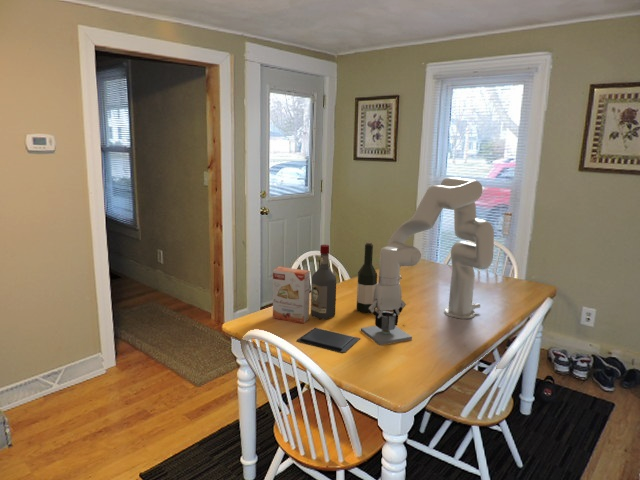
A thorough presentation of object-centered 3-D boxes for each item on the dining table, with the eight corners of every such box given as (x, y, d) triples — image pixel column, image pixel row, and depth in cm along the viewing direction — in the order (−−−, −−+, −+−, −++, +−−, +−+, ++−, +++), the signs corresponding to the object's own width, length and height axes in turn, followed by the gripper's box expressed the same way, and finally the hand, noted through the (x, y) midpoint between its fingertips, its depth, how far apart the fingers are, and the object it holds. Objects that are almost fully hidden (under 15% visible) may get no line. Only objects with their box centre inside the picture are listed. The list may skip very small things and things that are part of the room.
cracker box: (272, 318, 194) (272, 269, 189) (278, 313, 199) (278, 265, 195) (303, 324, 189) (304, 273, 184) (309, 319, 194) (310, 269, 190)
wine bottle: (362, 314, 200) (366, 245, 194) (352, 308, 207) (355, 241, 201) (379, 311, 204) (382, 244, 198) (368, 305, 211) (371, 240, 205)
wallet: (294, 337, 173) (315, 324, 186) (294, 342, 173) (315, 328, 186) (343, 351, 163) (362, 335, 176) (343, 356, 164) (361, 340, 177)
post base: (391, 325, 189) (392, 310, 188) (411, 339, 177) (412, 322, 175) (360, 330, 184) (361, 314, 182) (379, 345, 171) (380, 328, 170)
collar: (389, 322, 184) (389, 310, 182) (398, 328, 178) (399, 316, 177) (374, 324, 181) (375, 312, 180) (383, 331, 175) (384, 318, 174)
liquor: (323, 309, 205) (324, 242, 198) (338, 315, 199) (340, 246, 192) (307, 314, 199) (308, 245, 192) (322, 321, 192) (324, 249, 186)
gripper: (402, 275, 182) (400, 318, 186) (363, 279, 175) (361, 325, 179) (414, 280, 176) (411, 325, 179) (373, 285, 169) (371, 332, 173)
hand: (386, 325), depth 179 cm, fingers closed on collar, 6 cm apart
